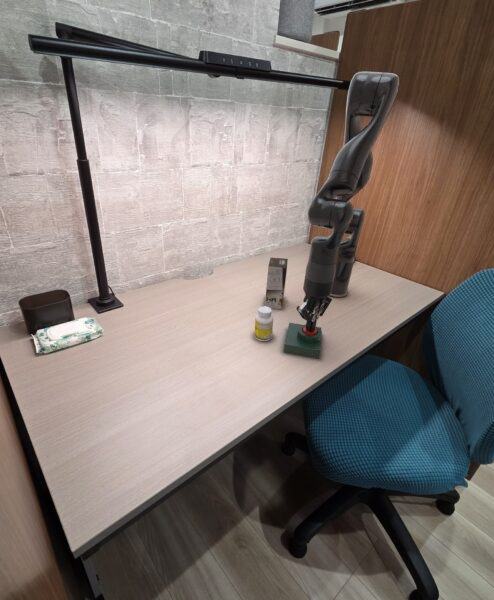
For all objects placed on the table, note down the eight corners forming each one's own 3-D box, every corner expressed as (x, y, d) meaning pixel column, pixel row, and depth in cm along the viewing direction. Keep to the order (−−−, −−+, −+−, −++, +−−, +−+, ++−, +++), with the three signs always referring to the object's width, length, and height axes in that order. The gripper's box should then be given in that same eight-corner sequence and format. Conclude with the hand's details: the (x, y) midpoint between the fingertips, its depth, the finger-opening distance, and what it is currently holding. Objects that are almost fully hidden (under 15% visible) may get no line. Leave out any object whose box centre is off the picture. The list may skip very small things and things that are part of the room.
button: (302, 330, 95) (303, 325, 94) (316, 332, 94) (317, 327, 94) (301, 337, 92) (302, 332, 91) (315, 340, 91) (316, 334, 90)
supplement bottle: (256, 330, 101) (258, 303, 96) (273, 333, 99) (276, 306, 95) (252, 339, 96) (254, 312, 91) (269, 343, 95) (272, 315, 90)
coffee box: (282, 309, 113) (286, 267, 105) (264, 307, 114) (267, 265, 106) (283, 297, 121) (288, 258, 113) (267, 295, 122) (270, 256, 114)
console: (288, 330, 101) (289, 317, 99) (319, 335, 99) (322, 322, 97) (283, 352, 91) (285, 338, 89) (318, 359, 89) (321, 344, 87)
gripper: (314, 287, 78) (304, 344, 86) (346, 275, 85) (334, 328, 93) (291, 276, 83) (285, 331, 91) (324, 266, 90) (314, 317, 98)
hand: (310, 330), depth 92 cm, fingers closed
